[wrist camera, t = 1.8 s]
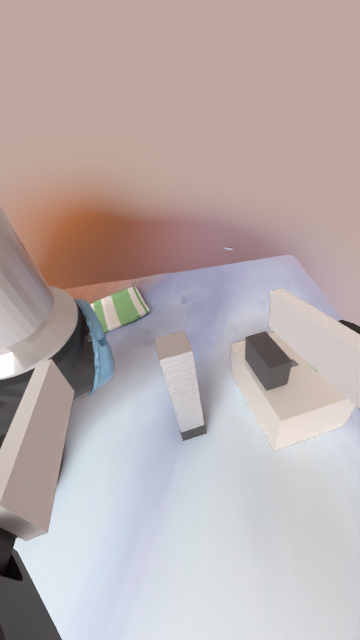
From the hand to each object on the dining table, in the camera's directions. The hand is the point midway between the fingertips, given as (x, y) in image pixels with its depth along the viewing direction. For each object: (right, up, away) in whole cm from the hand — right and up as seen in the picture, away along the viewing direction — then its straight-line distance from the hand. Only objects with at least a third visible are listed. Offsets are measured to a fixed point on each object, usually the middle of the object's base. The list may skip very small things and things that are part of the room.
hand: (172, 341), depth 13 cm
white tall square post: (+2, -16, +22) cm, 27 cm away
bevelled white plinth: (+17, -12, +24) cm, 31 cm away
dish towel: (-21, +2, +53) cm, 57 cm away
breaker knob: (+13, -6, +18) cm, 23 cm away
